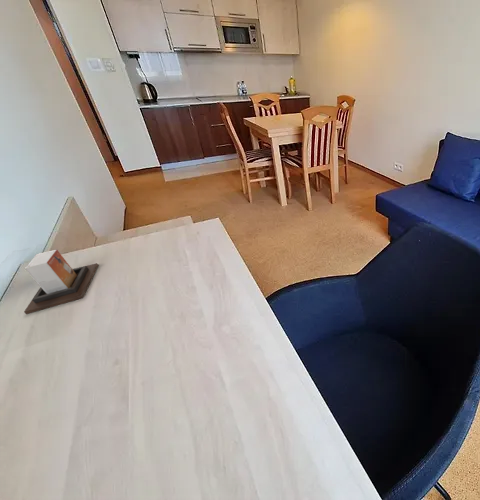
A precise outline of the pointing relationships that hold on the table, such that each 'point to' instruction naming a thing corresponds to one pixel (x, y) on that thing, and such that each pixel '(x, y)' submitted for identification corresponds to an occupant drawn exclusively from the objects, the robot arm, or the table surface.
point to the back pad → (64, 291)
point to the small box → (51, 271)
